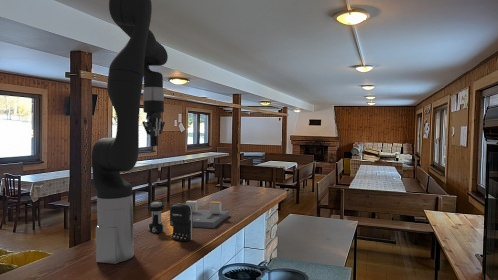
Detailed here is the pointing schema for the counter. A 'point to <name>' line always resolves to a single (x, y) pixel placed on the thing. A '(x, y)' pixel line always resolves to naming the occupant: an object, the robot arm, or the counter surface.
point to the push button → (156, 217)
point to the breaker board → (205, 216)
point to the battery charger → (181, 222)
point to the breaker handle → (215, 207)
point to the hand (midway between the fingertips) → (154, 146)
